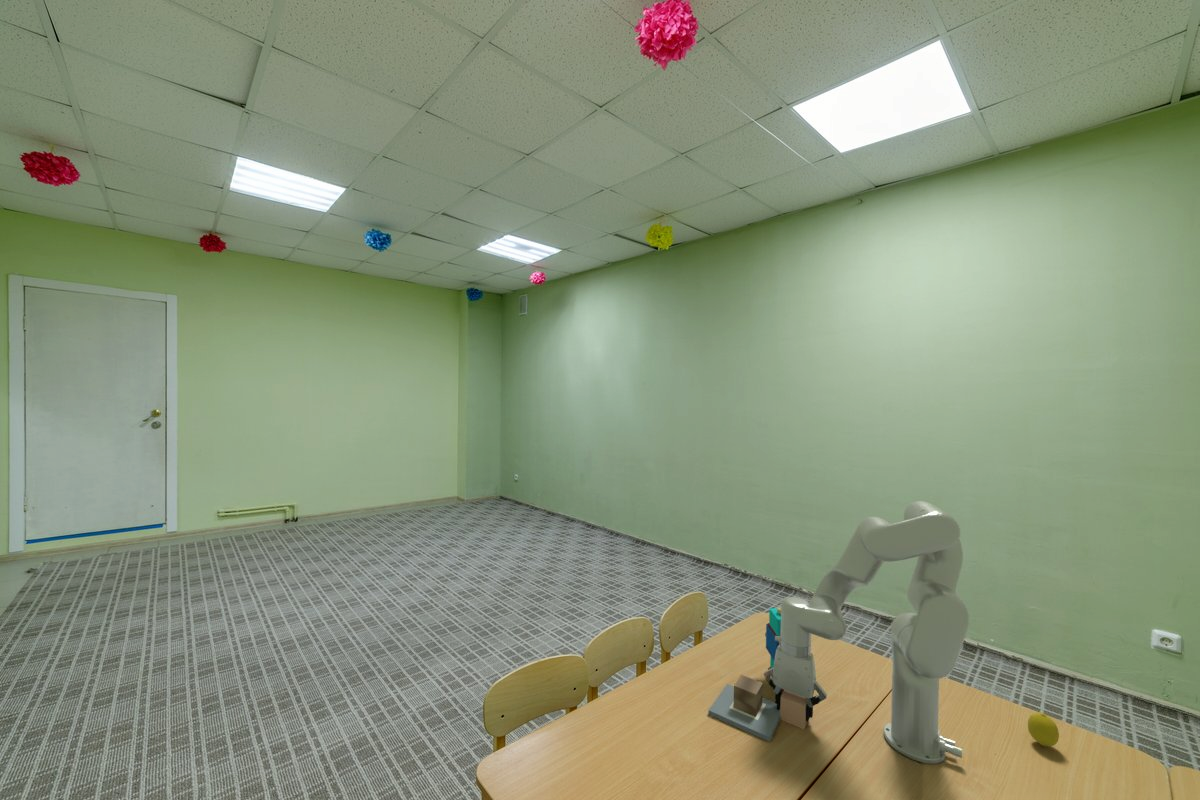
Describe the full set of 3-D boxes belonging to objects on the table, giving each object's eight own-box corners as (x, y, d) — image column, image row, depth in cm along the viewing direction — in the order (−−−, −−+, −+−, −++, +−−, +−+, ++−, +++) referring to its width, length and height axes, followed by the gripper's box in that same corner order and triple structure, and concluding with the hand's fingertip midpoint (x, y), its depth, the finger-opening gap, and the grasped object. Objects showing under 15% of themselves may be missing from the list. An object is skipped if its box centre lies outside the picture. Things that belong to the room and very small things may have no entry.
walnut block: (762, 704, 124) (762, 682, 124) (755, 716, 119) (756, 694, 119) (740, 695, 128) (741, 674, 128) (733, 707, 123) (733, 685, 123)
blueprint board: (784, 710, 124) (784, 706, 124) (769, 742, 112) (769, 737, 112) (727, 687, 133) (727, 683, 133) (708, 714, 122) (708, 709, 122)
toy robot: (798, 695, 130) (800, 609, 130) (777, 695, 130) (778, 608, 130) (783, 671, 142) (784, 591, 141) (763, 670, 142) (765, 591, 141)
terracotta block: (809, 716, 122) (809, 694, 122) (804, 729, 117) (804, 706, 117) (785, 707, 125) (786, 685, 125) (780, 719, 121) (780, 697, 120)
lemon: (1048, 756, 109) (1049, 723, 109) (1021, 739, 114) (1022, 708, 114) (1064, 752, 111) (1065, 719, 111) (1037, 735, 116) (1037, 704, 116)
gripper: (758, 641, 123) (756, 706, 123) (828, 665, 113) (826, 736, 113) (766, 630, 129) (764, 692, 129) (833, 651, 119) (831, 719, 119)
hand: (793, 712), depth 121 cm, fingers open, 6 cm apart
